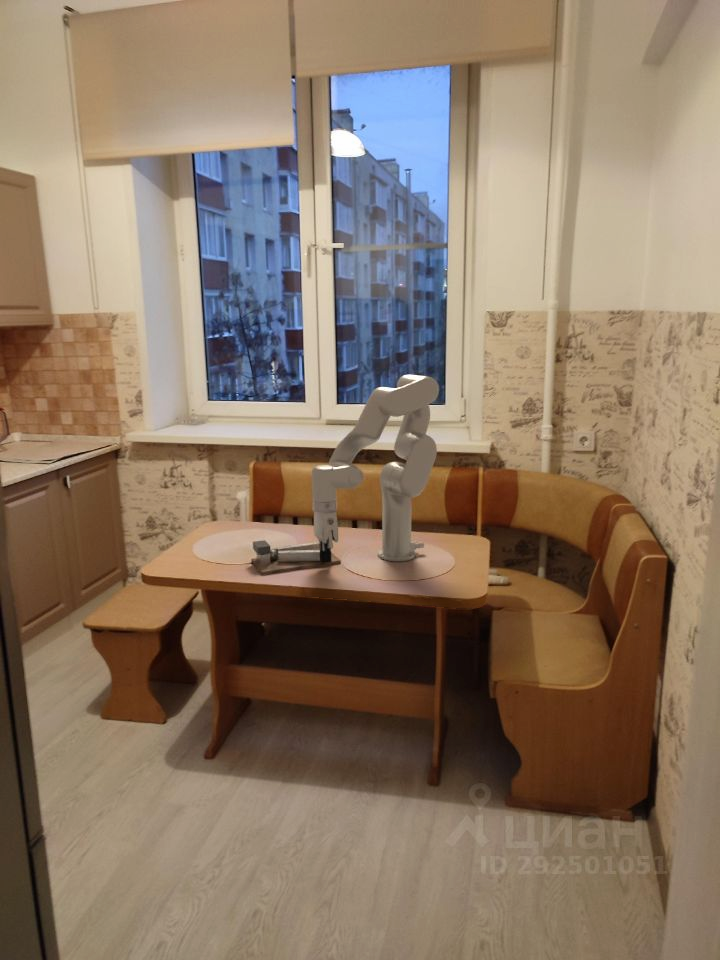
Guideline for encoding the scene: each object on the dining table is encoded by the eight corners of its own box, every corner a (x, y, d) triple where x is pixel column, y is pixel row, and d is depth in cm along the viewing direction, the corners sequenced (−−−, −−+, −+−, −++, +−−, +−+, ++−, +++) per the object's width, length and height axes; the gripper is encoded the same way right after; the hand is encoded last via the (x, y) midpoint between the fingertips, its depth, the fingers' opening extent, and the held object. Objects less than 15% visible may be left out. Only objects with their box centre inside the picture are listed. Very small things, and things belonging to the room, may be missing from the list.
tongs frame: (324, 549, 225) (324, 540, 224) (331, 555, 220) (331, 545, 219) (256, 559, 216) (256, 549, 215) (261, 565, 211) (261, 555, 210)
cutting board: (326, 551, 226) (326, 548, 226) (340, 563, 215) (340, 560, 215) (251, 561, 217) (251, 558, 216) (261, 575, 205) (261, 572, 205)
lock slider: (265, 547, 217) (264, 540, 216) (270, 553, 211) (270, 545, 210) (253, 548, 215) (252, 541, 214) (258, 554, 209) (257, 547, 209)
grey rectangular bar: (331, 556, 217) (331, 548, 216) (331, 560, 214) (331, 551, 213) (269, 558, 216) (268, 549, 215) (268, 562, 212) (267, 553, 212)
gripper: (345, 509, 201) (345, 567, 205) (327, 498, 214) (328, 552, 218) (321, 512, 198) (322, 571, 202) (305, 500, 211) (306, 555, 215)
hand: (325, 561), depth 210 cm, fingers closed
